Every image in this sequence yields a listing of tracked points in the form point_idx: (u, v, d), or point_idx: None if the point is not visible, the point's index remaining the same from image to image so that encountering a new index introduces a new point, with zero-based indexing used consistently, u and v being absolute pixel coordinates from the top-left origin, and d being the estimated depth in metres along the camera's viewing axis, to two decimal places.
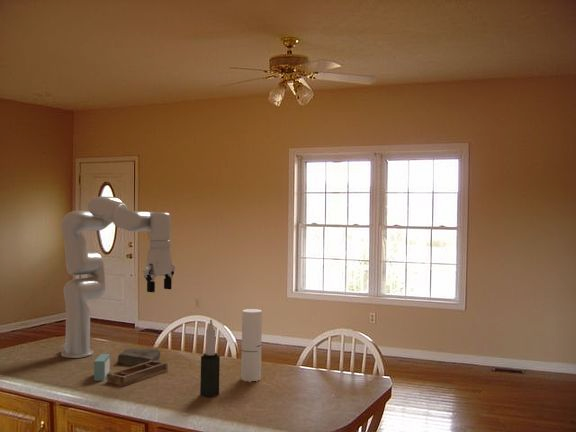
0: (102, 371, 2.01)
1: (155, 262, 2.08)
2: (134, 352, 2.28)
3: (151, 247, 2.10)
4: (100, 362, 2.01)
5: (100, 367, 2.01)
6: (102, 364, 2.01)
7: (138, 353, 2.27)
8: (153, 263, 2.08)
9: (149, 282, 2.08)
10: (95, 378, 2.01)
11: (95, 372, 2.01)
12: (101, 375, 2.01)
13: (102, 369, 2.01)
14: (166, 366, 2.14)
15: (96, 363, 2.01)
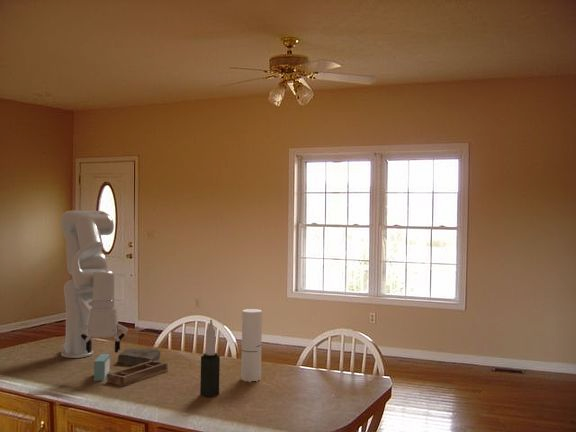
0: (102, 371, 2.01)
1: None
2: (134, 352, 2.28)
3: (112, 307, 2.05)
4: (100, 362, 2.01)
5: (100, 367, 2.01)
6: (102, 364, 2.01)
7: (138, 353, 2.27)
8: (117, 322, 2.07)
9: (119, 341, 2.06)
10: (95, 378, 2.01)
11: (95, 372, 2.01)
12: (101, 375, 2.01)
13: (102, 369, 2.01)
14: (166, 366, 2.14)
15: (96, 363, 2.01)
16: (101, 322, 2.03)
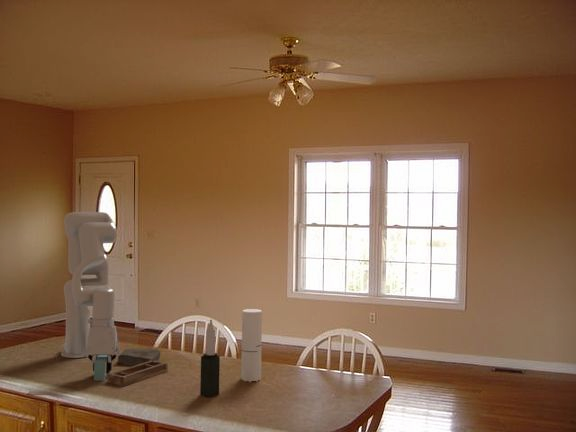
0: (102, 371, 2.01)
1: None
2: (134, 352, 2.28)
3: (112, 325, 2.05)
4: (100, 362, 2.01)
5: (100, 367, 2.01)
6: (102, 364, 2.01)
7: (138, 353, 2.27)
8: None
9: (111, 362, 2.06)
10: (95, 378, 2.01)
11: (95, 371, 2.01)
12: (101, 375, 2.01)
13: (102, 369, 2.01)
14: (166, 366, 2.14)
15: (96, 363, 2.01)
16: (100, 340, 2.03)
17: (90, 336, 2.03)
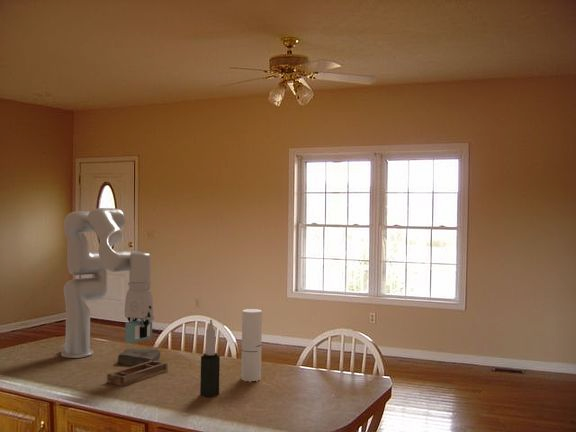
0: (131, 333, 2.02)
1: (152, 303, 2.06)
2: (134, 352, 2.28)
3: (144, 289, 2.04)
4: (130, 324, 2.02)
5: (129, 329, 2.02)
6: (131, 326, 2.02)
7: (138, 353, 2.27)
8: (152, 305, 2.05)
9: (145, 327, 2.05)
10: (126, 340, 2.03)
11: (126, 333, 2.03)
12: (130, 337, 2.02)
13: (131, 331, 2.02)
14: (166, 366, 2.14)
15: (127, 325, 2.03)
16: (133, 303, 2.04)
17: (126, 298, 2.06)
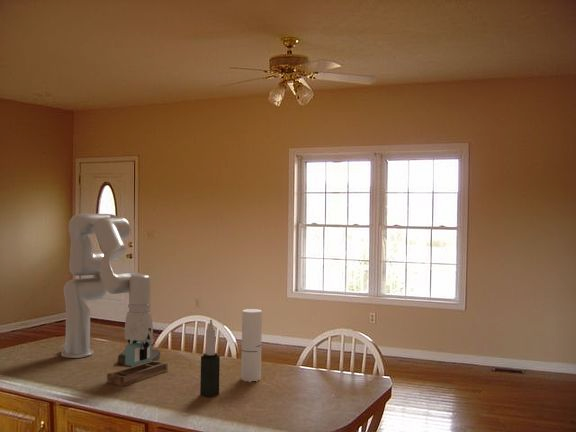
0: (131, 356, 2.02)
1: (152, 325, 2.06)
2: None
3: (144, 312, 2.04)
4: (129, 347, 2.02)
5: (129, 352, 2.02)
6: (131, 349, 2.02)
7: None
8: (151, 327, 2.05)
9: (145, 349, 2.05)
10: (126, 362, 2.03)
11: (126, 356, 2.03)
12: (130, 360, 2.02)
13: (131, 354, 2.02)
14: (166, 366, 2.14)
15: (127, 347, 2.03)
16: (133, 326, 2.04)
17: (126, 320, 2.06)
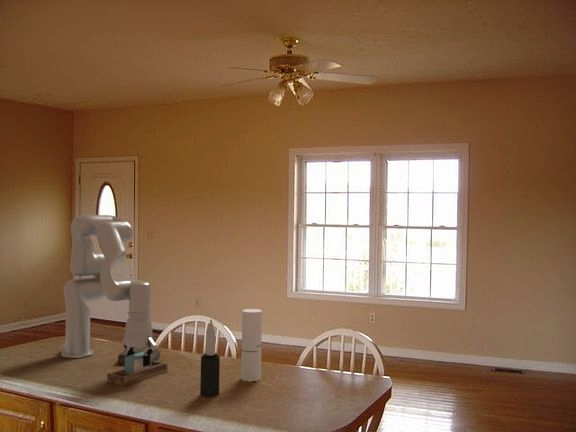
0: (130, 368, 2.02)
1: None
2: None
3: (144, 319, 2.04)
4: (129, 359, 2.02)
5: (129, 364, 2.02)
6: (130, 361, 2.02)
7: None
8: (151, 334, 2.05)
9: (149, 356, 2.04)
10: None
11: (125, 367, 2.03)
12: (129, 372, 2.02)
13: (130, 366, 2.02)
14: (166, 366, 2.14)
15: (126, 359, 2.03)
16: (133, 333, 2.04)
17: (126, 328, 2.06)
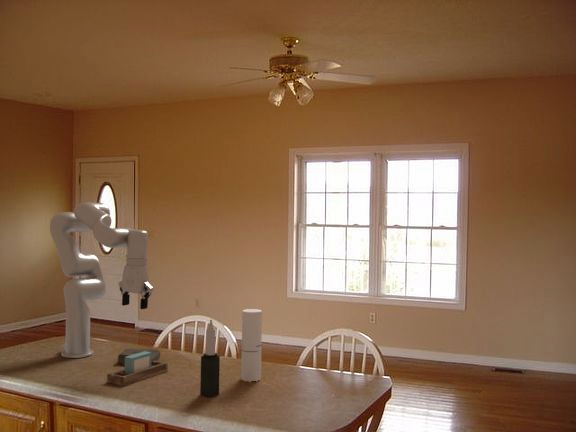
0: (130, 368, 2.02)
1: None
2: (134, 352, 2.28)
3: (141, 265, 2.13)
4: (129, 359, 2.02)
5: (129, 364, 2.02)
6: (130, 361, 2.02)
7: None
8: (147, 280, 2.15)
9: (146, 299, 2.13)
10: None
11: (125, 367, 2.03)
12: (129, 372, 2.02)
13: (130, 366, 2.02)
14: (166, 366, 2.14)
15: (126, 359, 2.03)
16: (130, 278, 2.14)
17: (123, 273, 2.16)
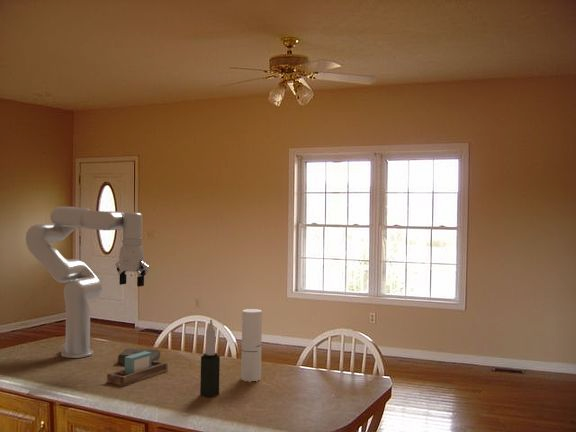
0: (130, 368, 2.02)
1: (143, 258, 2.28)
2: (134, 352, 2.28)
3: (136, 245, 2.26)
4: (129, 359, 2.02)
5: (129, 364, 2.02)
6: (130, 361, 2.02)
7: None
8: (143, 259, 2.28)
9: (142, 277, 2.26)
10: None
11: (125, 367, 2.03)
12: (129, 372, 2.02)
13: (130, 366, 2.02)
14: (166, 366, 2.14)
15: (126, 359, 2.03)
16: (126, 258, 2.26)
17: (120, 253, 2.28)
